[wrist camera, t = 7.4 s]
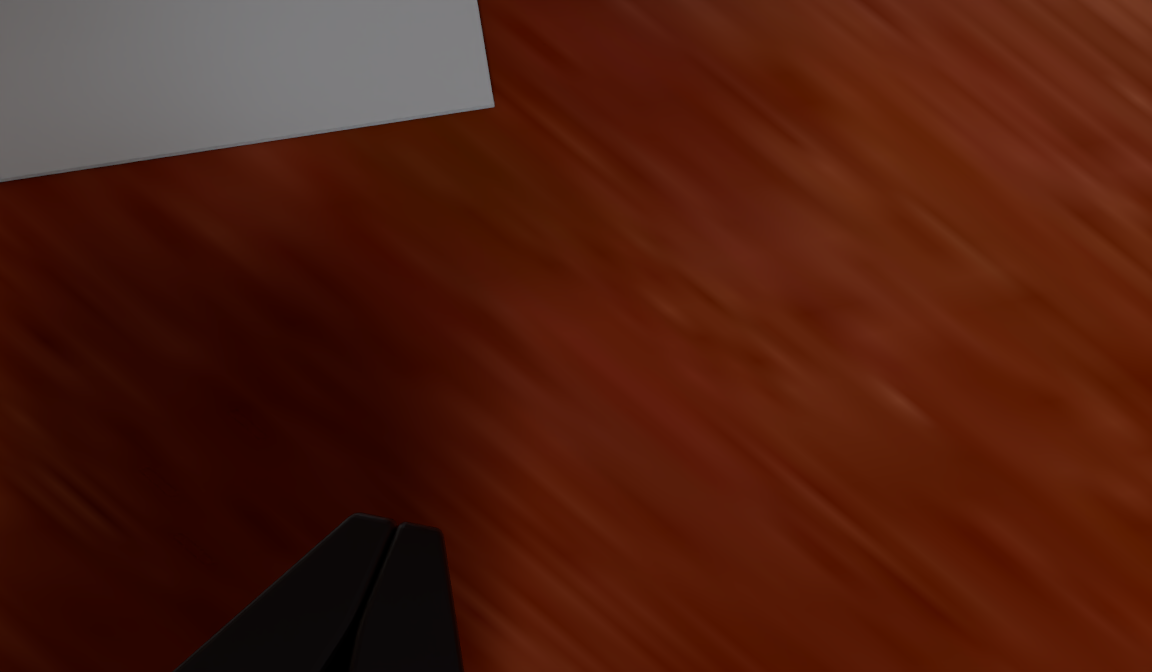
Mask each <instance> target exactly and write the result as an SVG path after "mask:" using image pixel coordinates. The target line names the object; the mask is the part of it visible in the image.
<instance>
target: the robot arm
mask: <svg viewBox="0 0 1152 672" xmlns="http://www.w3.org/2000/svg"><path fill="white" fill-rule="evenodd" d="M172 672H464V668H463V661H462V655H461V648H460V641H459V635H458V628H457V621H456V615H455V608H454V601H453V595H452V588H451V581H450V575H449V568H448V561H447V555H446V548H445V541H444V536H443V533H442V531H441V530H440V529H438V528H435V527H430V526H425V525H420V524H415V523H410V522H403V523H401V524H400V525H399V526H397V523H396V522H395V521H394V520H393V519H390V518H385V517H380V516H375V515H370V514H366V513H355V514H352V515H351V516H349V517H348V518H347V519H346V520H345V521H343V522H342V523H341V524H340V525H339V526H338V527H337V528H335V529H334V530H333V531H332V532H331V533H330V534H329V535H328V536H326V537H325V538H324V539H323V540H322V541H321V542H320V543H318V544H317V545H316V546H315V547H314V548H313V549H312V550H310V551H309V552H308V553H307V554H306V555H305V556H304V557H302V558H301V559H300V560H299V561H298V562H297V563H296V564H294V565H293V566H292V567H291V568H290V569H289V570H288V571H286V572H285V573H284V574H283V575H282V576H281V577H280V578H278V579H277V580H276V581H275V582H274V583H273V584H272V585H271V586H269V587H268V588H267V589H266V590H265V591H264V592H263V593H261V594H260V595H259V596H258V597H257V598H256V599H255V600H253V601H252V602H251V603H250V604H249V605H248V606H247V607H245V608H244V609H243V610H242V611H241V612H240V613H239V614H237V615H236V616H235V617H234V618H233V619H232V620H231V621H229V622H228V623H227V624H226V625H225V626H224V627H223V628H221V629H220V630H219V631H218V632H217V633H216V634H215V635H214V636H212V637H211V638H210V639H209V640H208V641H207V642H206V643H204V644H203V645H202V646H201V647H200V648H199V649H198V650H196V651H195V652H194V653H193V654H192V655H191V656H190V657H188V658H187V659H186V660H185V661H184V662H183V663H182V664H180V665H179V666H178V667H177V668H176V669H175V670H174V671H172Z"/></svg>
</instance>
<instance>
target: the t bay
mask: <svg viewBox="0 0 1152 672" xmlns="http://www.w3.org/2000/svg"><path fill="white" fill-rule="evenodd" d="M491 107H494V101H493V95H492V89H491V82H490V76H489V70H488V64H487V58H486V52H485V46H484V40H483V34H482V28H481V22H480V15H479V9H478V3H477V0H0V182H4V181H11V180H17V179H24V178H30V177H37V176H43V175H50V174H57V173H63V172H70V171H76V170H83V169H89V168H96V167H103V166H109V165H116V164H122V163H129V162H136V161H142V160H149V159H155V158H162V157H168V156H175V155H182V154H188V153H195V152H201V151H208V150H215V149H221V148H228V147H234V146H241V145H247V144H254V143H261V142H267V141H274V140H280V139H287V138H293V137H300V136H307V135H313V134H320V133H326V132H333V131H340V130H346V129H353V128H359V127H366V126H372V125H379V124H386V123H392V122H399V121H405V120H412V119H419V118H425V117H432V116H438V115H445V114H451V113H458V112H465V111H471V110H478V109H484V108H491Z"/></svg>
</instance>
